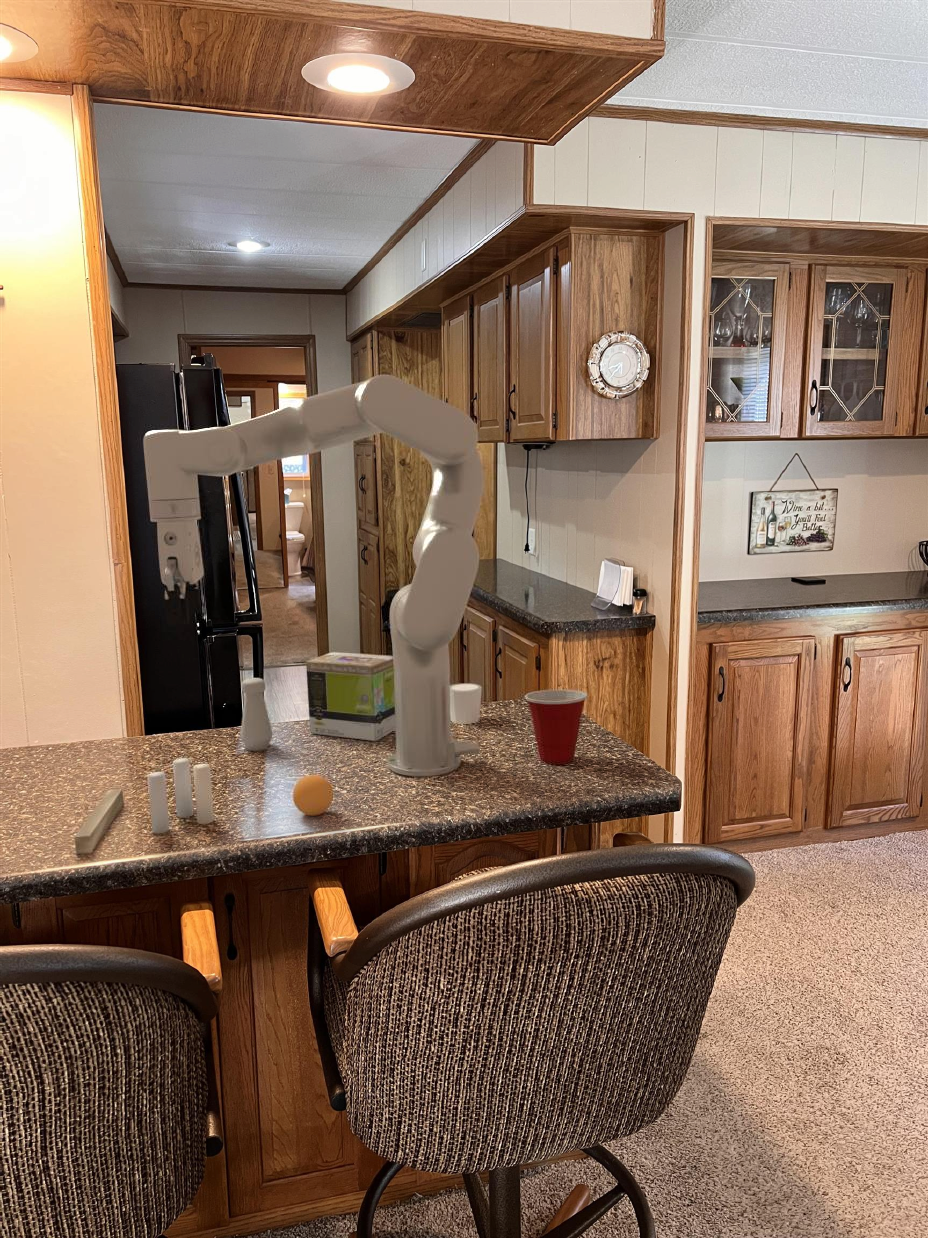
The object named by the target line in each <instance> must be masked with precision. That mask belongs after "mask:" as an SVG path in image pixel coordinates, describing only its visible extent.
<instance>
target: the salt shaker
mask: <svg viewBox="0 0 928 1238" xmlns="http://www.w3.org/2000/svg"><path fill="white" fill-rule="evenodd" d="M265 691H266V682H265V680H264V679H263V678H260V677H250V678H247V679H244V680H243V681H242V682H241V692H242V693H243V694H244V703H243V711H242V718H241V728H240V729H241V730H240V740H241V741H242V743H243V745H244V747H245V748H246V750H248V751H251V752H252V751H253V752H254V751H255V752H256V751H257V752H258V751H259V752H260V751H263V750H266V749H268V747H270V746H269V745H270V743H271V741H272V739H273V731H272V726H271V723H270V717H269V714H268V713H269V712H268V710H267V705H266V701H265V697H264V693H263V692H265Z"/></svg>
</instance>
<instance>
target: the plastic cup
mask: <svg viewBox="0 0 928 1238" xmlns="http://www.w3.org/2000/svg"><path fill="white" fill-rule="evenodd" d="M588 695H589V694H587V692H585V691H582V690H575V689H574V690H573V689H545V690H536V691H532V692H529V693H526V694H525V695H524V699H525V700H526V702H527V705H528V708H529V711H530V715H531V720H532V725H533V731H534V736H535V737H534V738H535V741H536V744H537V750H538V756H539V758H540V759H541V760H540V759H539V760H540V761H541V762H542V761H543V762H542V763H544V762H545V763H544V764H546V763H548V765H550V764H564V765H568V764H570V763H572V762H573V761H572V760H574V757H575V754H576V746H577V743H578V737H579V731H580V725H581V720H582V713H583V711H584V710H583V708H584V705H585V702H586V699H587V698H588ZM571 761H572V762H571ZM569 762H570V763H569ZM567 763H568V764H567Z"/></svg>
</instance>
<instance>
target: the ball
mask: <svg viewBox="0 0 928 1238" xmlns="http://www.w3.org/2000/svg"><path fill="white" fill-rule="evenodd" d="M292 799H293V804H294V805H295V807H296V808H297V810H298V811H299V812H300V813H302V814H303V815H306V816H314V817H315V816H319V815H322V814H324V813H325V812H326V811H327V810H328V809H329V808H330V807H331V805H332V803H333V800H334V790H333V786H332V784H331V783H330V781H329V780H328V779H327V778H325V777H324V776H321V775H317V774H310V775H307V776H304V777H303V778H301V779H300V780H298V782H297V783H296V785H295V786H294V788H293V791H292Z"/></svg>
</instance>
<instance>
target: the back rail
mask: <svg viewBox="0 0 928 1238" xmlns="http://www.w3.org/2000/svg"><path fill="white" fill-rule="evenodd" d="M123 791H124V790H123V788H115V789H113V788H112V789H108V791H106V794H104V796H103V798H102V799H101V800H100V801H99V803H98V804H97V805H96V807H95V808H94V810H93V811H92V813H91V814H90V815H89V817H88V818H87V819H86V820H85V822H84V824H83V825H82V826H81V827H80V829H79V830H78V832H77V833H76V834H75V836H74V844H75V853H76V855H82V854H83V855H84V854H92V853H93V852H94V850H95V849H96V847H97V845H98V844H99V842H100V841H101V839H102V838H103V836H104V835H105V834H106V831H107V830H108V829H109V827H110V826H111V824H112V823H113V821H114V820H115V818H116V817H117V815H118V814H119V812H120V811H121V809H122V808H123V806H124V805H125V804H124V803H125V802H124V793H123ZM93 849H94V850H93Z"/></svg>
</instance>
